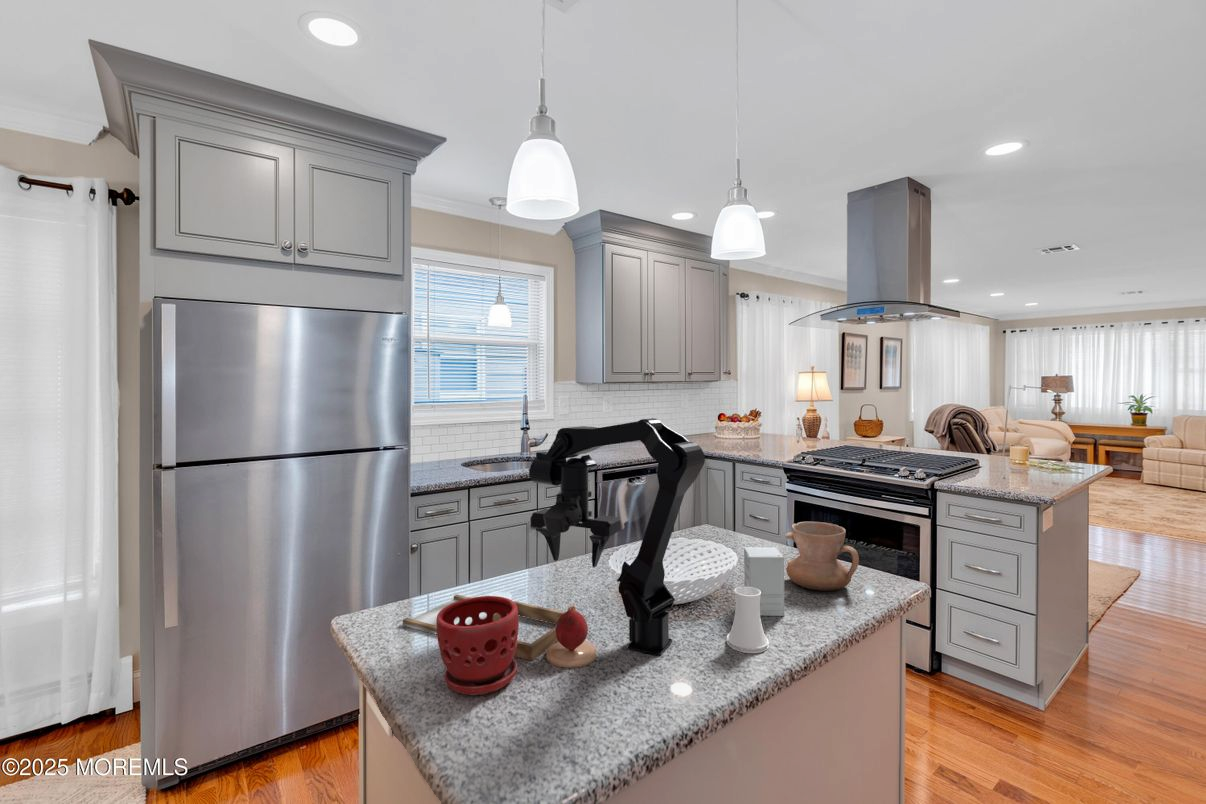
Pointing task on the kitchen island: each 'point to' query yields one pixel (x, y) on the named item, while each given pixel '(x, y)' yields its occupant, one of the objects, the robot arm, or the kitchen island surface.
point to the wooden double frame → (523, 649)
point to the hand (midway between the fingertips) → (575, 563)
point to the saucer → (571, 655)
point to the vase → (747, 622)
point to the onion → (571, 629)
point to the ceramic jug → (820, 556)
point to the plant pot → (478, 644)
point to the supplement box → (766, 578)
